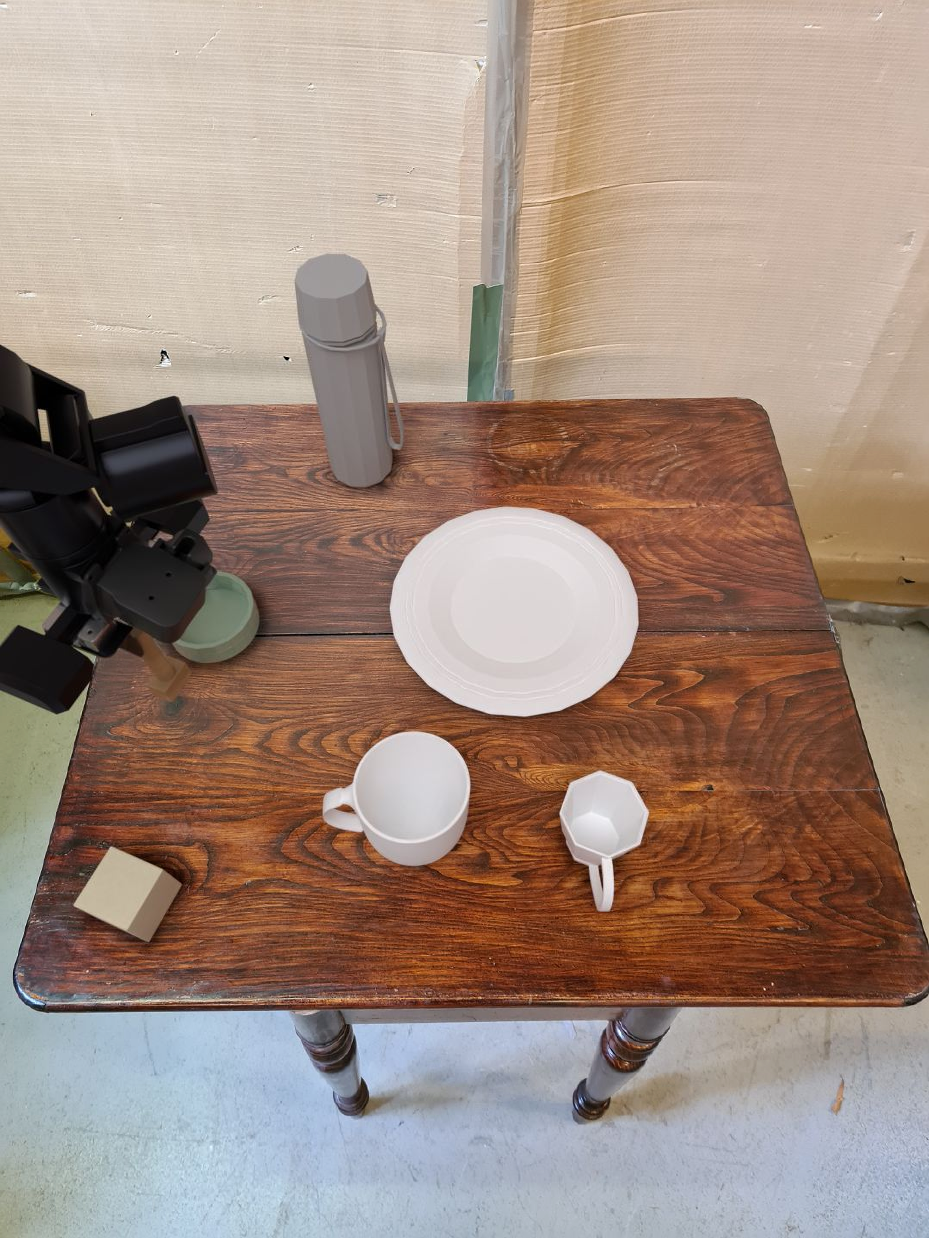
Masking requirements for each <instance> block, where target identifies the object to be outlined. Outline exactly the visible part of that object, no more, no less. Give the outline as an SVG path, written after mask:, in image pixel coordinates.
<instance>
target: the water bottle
mask: <svg viewBox="0 0 929 1238" xmlns="http://www.w3.org/2000/svg"><path fill="white" fill-rule="evenodd" d="M370 280H371V279H370V276H369V272H368V269H367V268H366V266H365V265H364V264H363V262H362V261H361V260H360V259H358V258H355V257H353V256H351V255H348V254H344V253H324V254H321V255H317V256H314V257H311V258H309V259H307V260H305V262H304V263H302V264H301V265H300V266H299V267H298V268H296V273H295V277H294V289H295V301H296V309H297V319H298V327H299V330H300V331H301V336H302V341H303V345H304V351H305V355H306V358H307V364H308V369H309V374H310V378H311V382H312V387H313V392H314V396H315V402H316V405H317V411H318V415H319V420H320V424H321V429H322V434H323V438H324V443H325V448H326V452H327V458H328V463H329V466H330V470H331V472H332V473H333V475H334V477H335V478H336V480H337V481H339V482H341V483H343V484H345V485H347V486H348V487H350V488H370V487H372V486H374V485H377V484H380V483H381V482H382V481H383V480H384V479H385V478H386V477H387V476H388V475H389V474H390V473H391V472H392V464H393V451H392V449H393V450H399V451H401V450H402V447H403V445H404V442H405V426H404V422H403V418H402V414H401V409H400V406H399V405H400V404H399V400H398V396H397V393H396V388H395V383H394V379H393V375H392V371H391V367H390V363H389V359H388V354H387V350H386V347H385V346H386V345H385V342H386V335H387V325H388V324H387V320H386V317H385V314H384V312H383V311H382V310H381V309H380V307H379V306H378V305H377V304H376V301H375V298H374V293H373V290H372V284H371V281H370ZM377 313H378V314H377ZM378 315H379V316H380V319H381V323H382V324H381V326H380V327H379V328H378V321H377V316H378ZM387 380H388V385H389V389H390V393H391V397H392V403H393V407H394V411H395V416H396V420H397V423H398V428H399V432H400V443H395V441H394V439H393V436H392V432H391V420H390V409H389V408H390V407H389V397H388V385H387Z"/></svg>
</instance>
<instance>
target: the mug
mask: <svg viewBox="0 0 929 1238" xmlns="http://www.w3.org/2000/svg"><path fill="white" fill-rule="evenodd" d="M470 795H471V776H470V773H469V769H468V766H467V764H466V762H465V759H464V758H463V756H462V755H461V754H460V752H459V751H458V750H457V748H455V747H454V746H453V745H452V744H451V743H450V742H448V741H447V740H445V739H444V738H442V737H440V736H438V735H436V734H433V733H429V732H424V731H416V730H415V731H412V730H411V731H404V732H403V731H402V732H399V733H394V734H391V735H389V736H387V737H385V738H383V739H381V740H380V741H378V742H377V743H375V744H374V745H373V746H372V747H370V748H369V750H368V751H367V752H366V753H365V754H364V756H363V757H362V758H361V760H360V762H359V763H358V765H357V767H356V769H355V772H354V775H353V781H352V783H350V785H348V786H347V787H341V786H340V787H337V788H333V789H331V790H329V791H327V792H326V793H325V794H324V796H323V800H322V820H323V821H324V822H325V823H326V824H328V825H330V826H331V827H333V828H336V829H339V830H344V831H348V832H355V833H364V835H365V837H366V839H367V840H368V842H369V844H370V845H371V846H372V847H373V849H374V850H375V851H377V853H378V854H379V855H381V856H382V857H383V858H385V859H387V860H389V862H393V863H395V864H398V865H403V866H407V867H419V866H425V865H428V864H432V863H434V862H437V861H438V860H440V859H442V858H443V857H445V856H446V855H447V854H449V853H450V852H451V850H453V848H454V847H455V846H456V845H457V844H458V842H459V841H460V839H461V836H462V835H463V833H464V830H465V828H466V823H467V820H468V814H469V807H470ZM342 805H347V806H348V807H351V809H353V811H354V812H355V813H354V812H353V813H351V812H348V811H343V810H339V809H336V808H339V807H341V806H342Z"/></svg>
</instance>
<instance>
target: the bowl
mask: <svg viewBox="0 0 929 1238" xmlns="http://www.w3.org/2000/svg"><path fill="white" fill-rule="evenodd" d="M259 627H260V611H259V608H258V605H257V601H256V600H255V596H254V595H253V592H252V590H251V588H250V587H249V586H248V585H247V583H246V582H245V580H243V579H242V578H241V577H238V576H237V575H235V574H233V573H231V572H225V571H220V570H217V574H216V575H215V576H214V578H213V579H212V581H211V582H210V584H209V585H208V586H207V588H206V596H205V603H204V605H203V607H202V608H201V609H200V610H199V611H198V613H197V614H196V616H195V617H194V618H193V620H192V621H191V623H190V624H189V626H188V627H187V628H186V630H185V632H184V634H183V635H182V637H181V638H180V639H179V640H178V641H176V642H174V643H171V644H172V646H173V647H174V649H175V650H176V651H177V653H179V654H180V655H181V656H183V658H185V659H187V660H190V661H193V662H196V663H202V664H213V663H214V664H215V663H219V662H223V661H226V660H229V659H231V658H233V657H235V656H237V655H238V654H240V653H241V652H243V651H244V650H245V649H246V648H247V647H248V646H249V645H250V644H251V643H252V641H253V640H254V639H255V638H256V637H255V636H256V635H257V633H258V630H259Z"/></svg>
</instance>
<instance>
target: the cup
mask: <svg viewBox="0 0 929 1238" xmlns="http://www.w3.org/2000/svg"><path fill="white" fill-rule="evenodd" d="M649 814H650V811H649V809H648V807H647V805H646V804H645V802H644V800H643V798H642V796H641V795H640V793H639V792H638V790H637V788H636V786H635V784H634V782H633V781H630V780H627V779H625V778H622V777H621V776H617V775H614V774H611V773H610V772H609V773H608V772H606V771H604V770H601V769H599V770H597V771H595V772H592V773H590V774H588V775H585V776H582V777H580V778H578V779H576V780H574V781H571V782H569V785H568V787H567V791H566V793H565V796H564V799H563V802H562V805H561V808H560V810H559V813H558V815H559V819H560V826H561V832H562V834H563V836H564V838H565V844H566V846H567V848H568V851H569V853H570V854H571V856H572V858H573V860H574V861H575V862H578V863H580V864H583V865H585V866H588V872H589V873H588V874H589V880H590V886H591V891H592V895H593V901H594V904H595V907H596V910H597V911H598V912H610V911H611V909H612V907H613V906H612V905H613V903H614V894H615V879H614V877H615V876H614V865H613V860H614V859H617V858H619V857H621V856H623V855H625V854H626V853H628V852H629V851H631V850H633V849H635V848H637V847H638V846H640V845H641V843H642V839H643V836H644V832H645V830H646V825H647V822H648V818H649ZM599 866H601V872H602V882H603V883H602V882H601V878H600V870H599Z"/></svg>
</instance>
